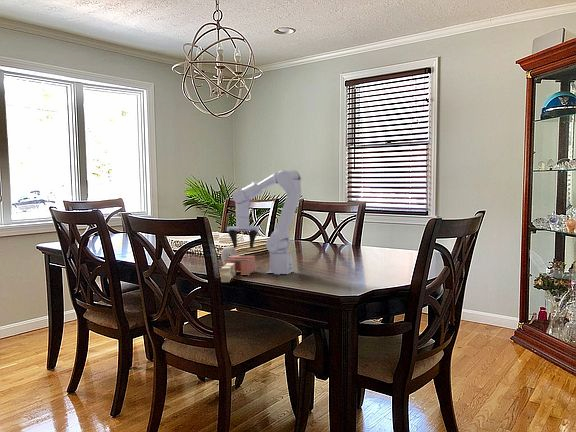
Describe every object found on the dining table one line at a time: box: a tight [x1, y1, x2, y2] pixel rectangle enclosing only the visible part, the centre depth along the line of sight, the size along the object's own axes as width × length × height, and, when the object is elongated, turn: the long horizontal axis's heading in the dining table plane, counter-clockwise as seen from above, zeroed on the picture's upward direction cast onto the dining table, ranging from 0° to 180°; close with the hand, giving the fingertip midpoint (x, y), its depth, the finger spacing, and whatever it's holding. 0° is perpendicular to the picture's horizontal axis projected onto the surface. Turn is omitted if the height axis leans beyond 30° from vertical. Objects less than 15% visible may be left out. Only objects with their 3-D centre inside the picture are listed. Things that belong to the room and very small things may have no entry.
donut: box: [220, 245, 238, 266], centre depth 220 cm, size 10×4×10 cm, turn 46°
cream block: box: [220, 263, 236, 283], centre depth 196 cm, size 12×3×6 cm, turn 174°
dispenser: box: [225, 254, 256, 275], centre depth 207 cm, size 10×10×7 cm
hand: (243, 247), depth 215 cm, fingers open, 7 cm apart
